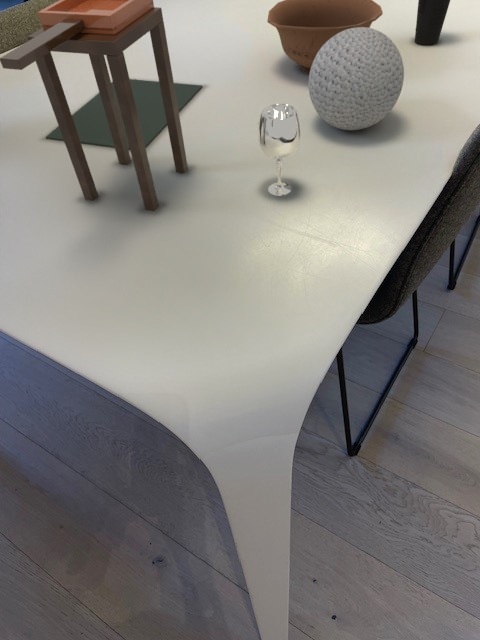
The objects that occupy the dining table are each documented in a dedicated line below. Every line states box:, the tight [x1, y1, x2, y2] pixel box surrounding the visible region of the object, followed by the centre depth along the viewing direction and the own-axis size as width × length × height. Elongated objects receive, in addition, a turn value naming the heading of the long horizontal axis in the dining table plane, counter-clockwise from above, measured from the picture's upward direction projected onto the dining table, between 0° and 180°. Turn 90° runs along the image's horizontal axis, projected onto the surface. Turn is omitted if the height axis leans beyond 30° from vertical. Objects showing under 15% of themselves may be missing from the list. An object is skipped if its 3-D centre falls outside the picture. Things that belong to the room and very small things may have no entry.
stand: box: [26, 6, 189, 212], centre depth 69 cm, size 12×12×23 cm
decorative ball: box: [308, 27, 405, 131], centre depth 80 cm, size 15×15×15 cm
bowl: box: [267, 0, 384, 75], centre depth 98 cm, size 22×22×11 cm
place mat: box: [45, 78, 203, 151], centre depth 95 cm, size 20×26×1 cm
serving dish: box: [0, 0, 155, 71], centre depth 57 cm, size 10×22×2 cm, turn 160°
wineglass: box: [257, 103, 301, 197], centre depth 69 cm, size 6×6×12 cm
